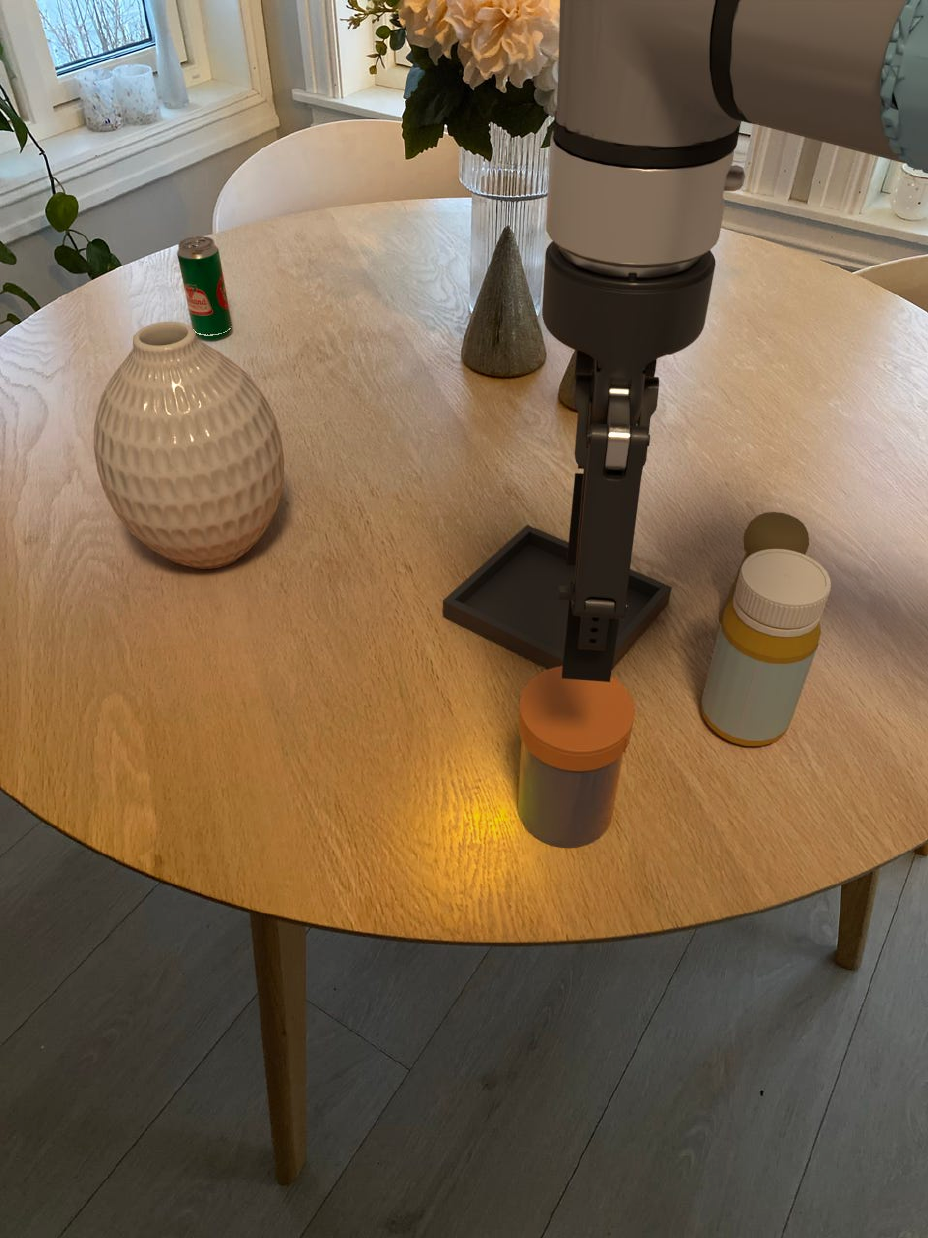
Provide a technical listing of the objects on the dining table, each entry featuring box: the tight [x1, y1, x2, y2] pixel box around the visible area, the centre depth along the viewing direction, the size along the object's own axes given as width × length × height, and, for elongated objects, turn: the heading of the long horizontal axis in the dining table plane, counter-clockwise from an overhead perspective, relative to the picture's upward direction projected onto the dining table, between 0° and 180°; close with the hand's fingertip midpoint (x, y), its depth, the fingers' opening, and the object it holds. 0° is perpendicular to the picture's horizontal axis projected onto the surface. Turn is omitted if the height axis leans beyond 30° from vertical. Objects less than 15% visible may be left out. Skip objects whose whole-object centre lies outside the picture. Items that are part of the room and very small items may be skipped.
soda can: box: [176, 235, 233, 342], centre depth 122 cm, size 5×5×12 cm
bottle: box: [700, 549, 832, 747], centre depth 72 cm, size 7×7×15 cm
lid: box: [518, 666, 635, 771], centre depth 64 cm, size 8×8×2 cm
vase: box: [93, 321, 285, 570], centre depth 86 cm, size 16×16×22 cm
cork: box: [718, 511, 810, 625], centre depth 82 cm, size 6×6×11 cm
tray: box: [442, 524, 673, 670], centre depth 86 cm, size 16×14×2 cm
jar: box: [517, 739, 625, 849], centre depth 67 cm, size 7×7×11 cm
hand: (587, 615), depth 58 cm, fingers open, 9 cm apart
